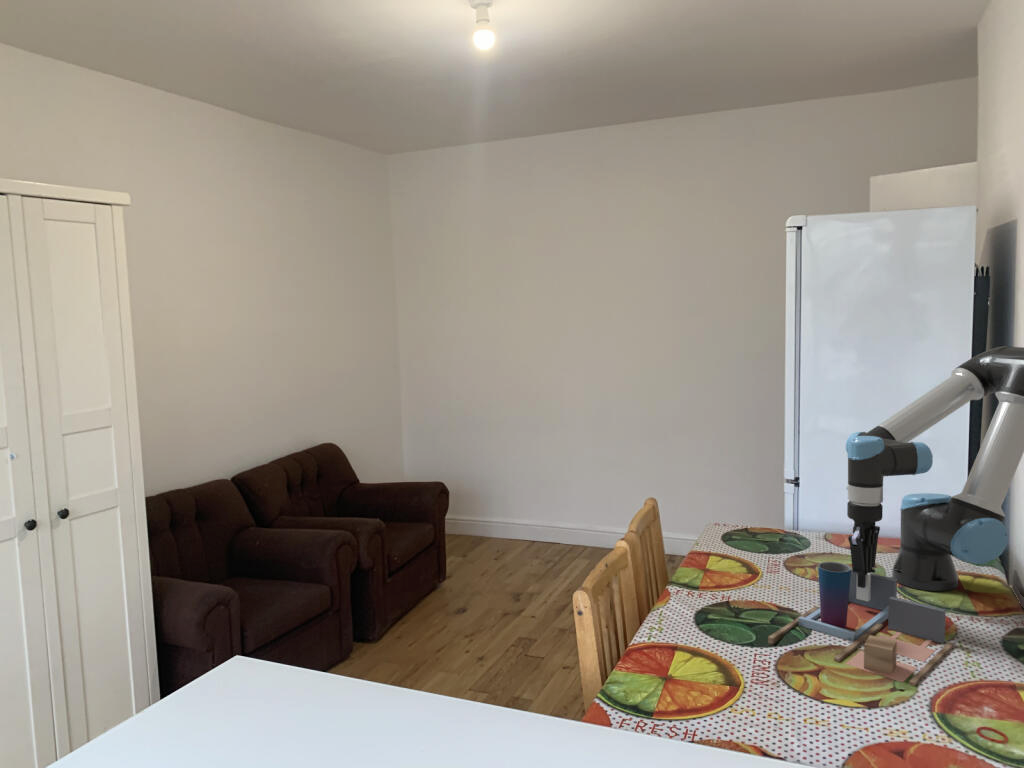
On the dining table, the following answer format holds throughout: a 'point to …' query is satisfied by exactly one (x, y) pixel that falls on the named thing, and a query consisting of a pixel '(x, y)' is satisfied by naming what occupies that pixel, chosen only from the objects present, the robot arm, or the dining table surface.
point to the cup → (834, 592)
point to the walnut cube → (880, 654)
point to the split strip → (912, 622)
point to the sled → (878, 600)
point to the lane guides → (859, 641)
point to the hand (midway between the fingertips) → (863, 599)
